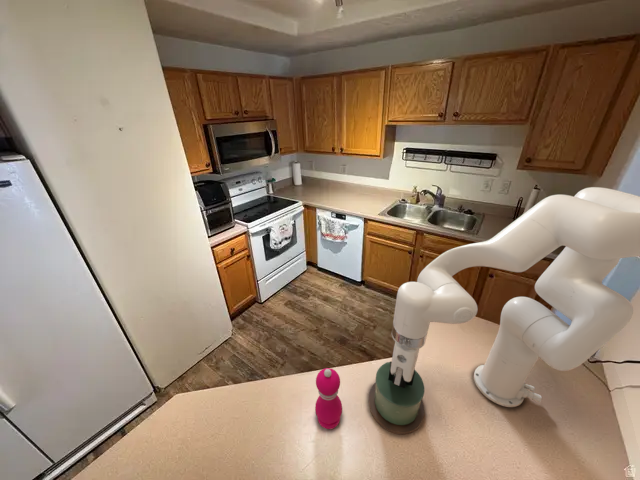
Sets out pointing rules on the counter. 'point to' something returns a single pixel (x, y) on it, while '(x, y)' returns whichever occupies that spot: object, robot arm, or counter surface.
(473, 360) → the counter surface
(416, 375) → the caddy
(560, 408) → the counter surface
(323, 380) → the pepper mill
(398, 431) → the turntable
